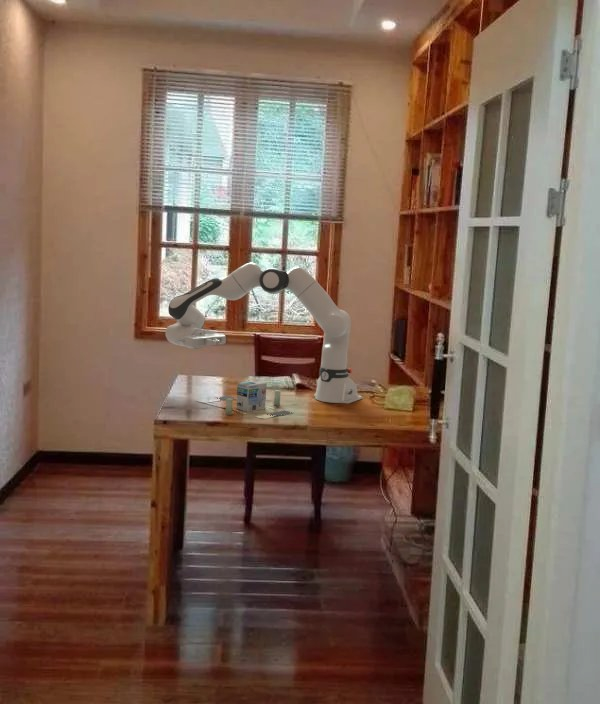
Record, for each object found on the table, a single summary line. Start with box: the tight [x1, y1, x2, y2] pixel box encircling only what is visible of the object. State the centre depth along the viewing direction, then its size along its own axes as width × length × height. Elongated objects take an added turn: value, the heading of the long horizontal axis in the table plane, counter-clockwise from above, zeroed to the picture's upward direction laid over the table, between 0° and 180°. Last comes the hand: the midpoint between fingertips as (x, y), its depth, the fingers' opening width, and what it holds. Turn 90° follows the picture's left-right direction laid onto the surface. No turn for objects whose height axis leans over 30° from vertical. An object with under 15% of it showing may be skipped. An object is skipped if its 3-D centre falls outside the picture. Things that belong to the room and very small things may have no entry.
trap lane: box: [216, 389, 293, 417], centre depth 321 cm, size 30×38×6 cm
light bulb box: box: [235, 380, 268, 413], centre depth 318 cm, size 11×7×11 cm, turn 140°
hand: (217, 342), depth 328 cm, fingers closed
